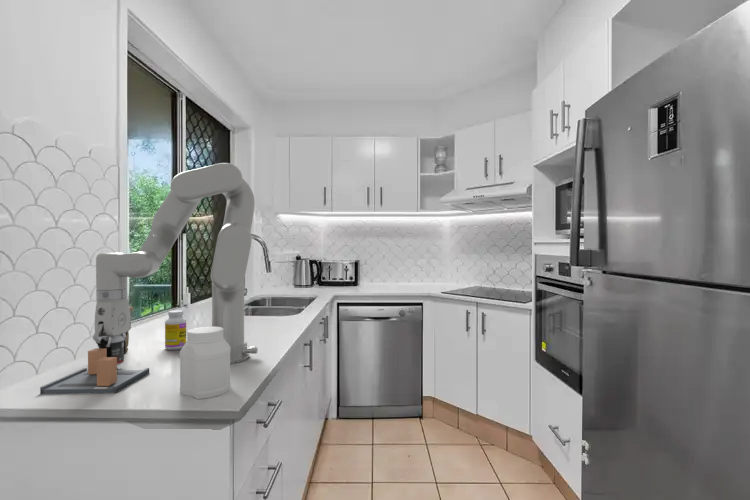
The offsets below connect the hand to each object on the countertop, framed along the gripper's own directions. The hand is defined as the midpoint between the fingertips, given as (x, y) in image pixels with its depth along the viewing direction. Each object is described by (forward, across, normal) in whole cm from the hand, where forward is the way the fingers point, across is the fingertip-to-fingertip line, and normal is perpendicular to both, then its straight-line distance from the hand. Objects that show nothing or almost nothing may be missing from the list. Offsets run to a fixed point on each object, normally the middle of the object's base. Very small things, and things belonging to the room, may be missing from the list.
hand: (112, 357), depth 117 cm
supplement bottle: (+4, +24, -7) cm, 25 cm away
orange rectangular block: (+2, -8, -1) cm, 8 cm away
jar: (+4, -18, -34) cm, 39 cm away
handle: (+4, +18, +8) cm, 20 cm away
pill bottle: (+2, 0, 0) cm, 2 cm away
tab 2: (+2, -17, -9) cm, 19 cm away
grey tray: (+3, -12, -4) cm, 13 cm away
